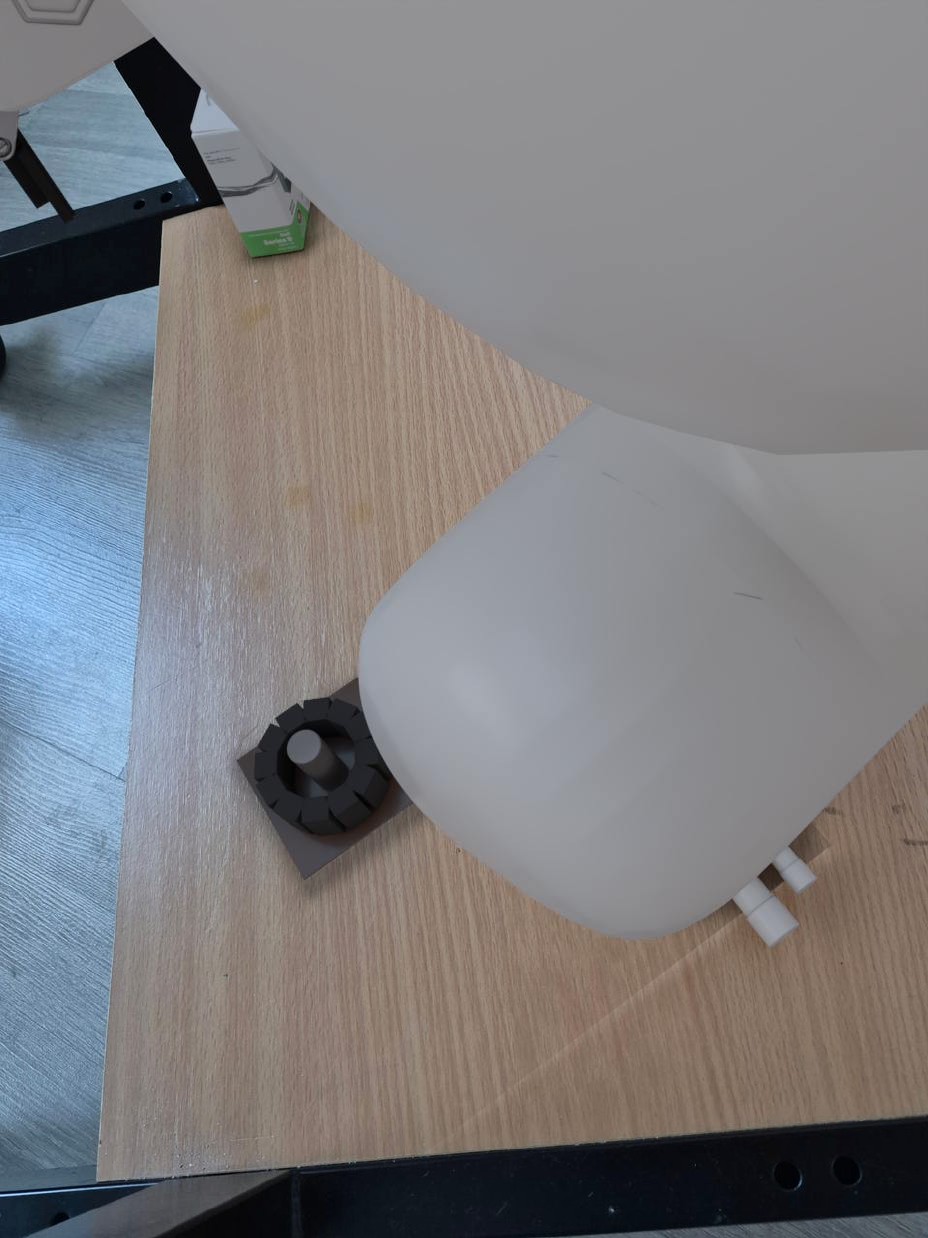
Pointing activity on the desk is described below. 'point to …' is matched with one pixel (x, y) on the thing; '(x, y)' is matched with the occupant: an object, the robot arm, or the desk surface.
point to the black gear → (344, 801)
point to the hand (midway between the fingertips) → (146, 156)
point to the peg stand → (324, 791)
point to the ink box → (249, 184)
